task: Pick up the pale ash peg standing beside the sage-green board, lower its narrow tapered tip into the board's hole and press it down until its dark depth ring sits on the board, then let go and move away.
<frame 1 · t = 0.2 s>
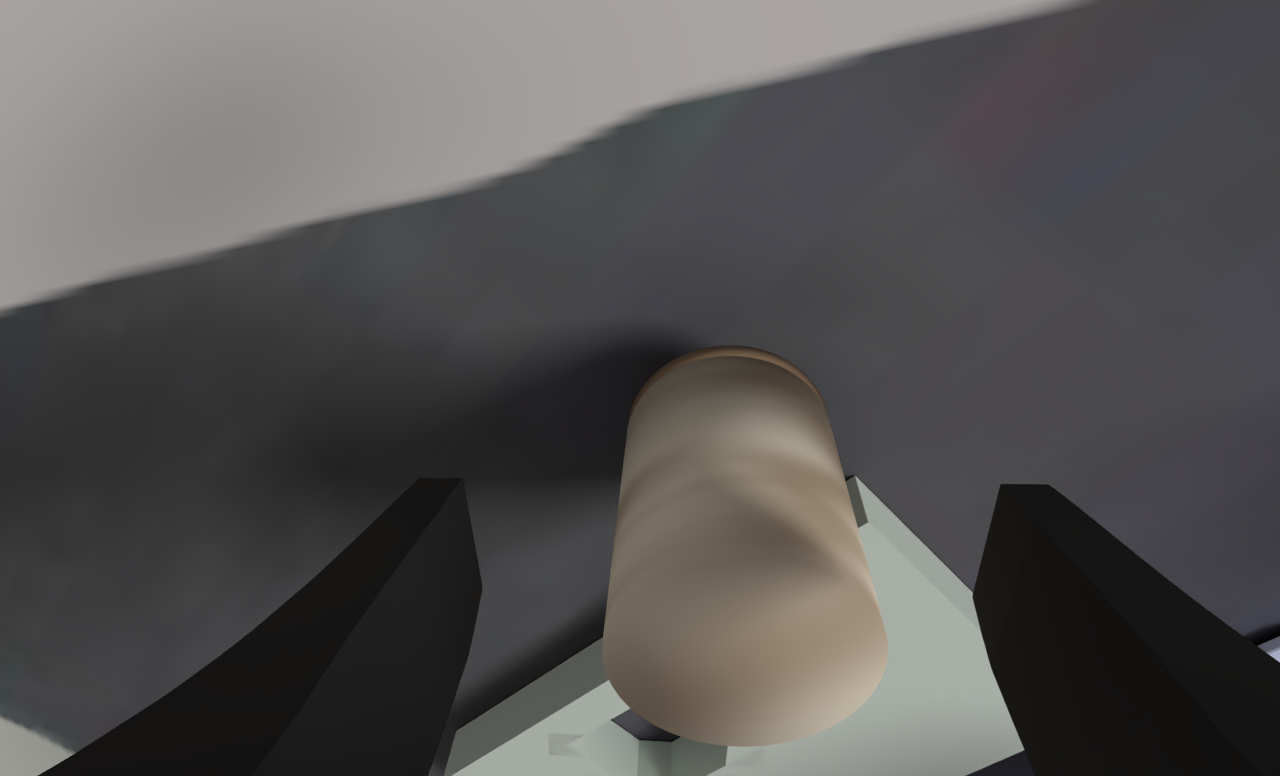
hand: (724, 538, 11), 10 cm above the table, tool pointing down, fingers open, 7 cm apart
board: (737, 703, 28), on the table
peg: (724, 395, 22), on the table
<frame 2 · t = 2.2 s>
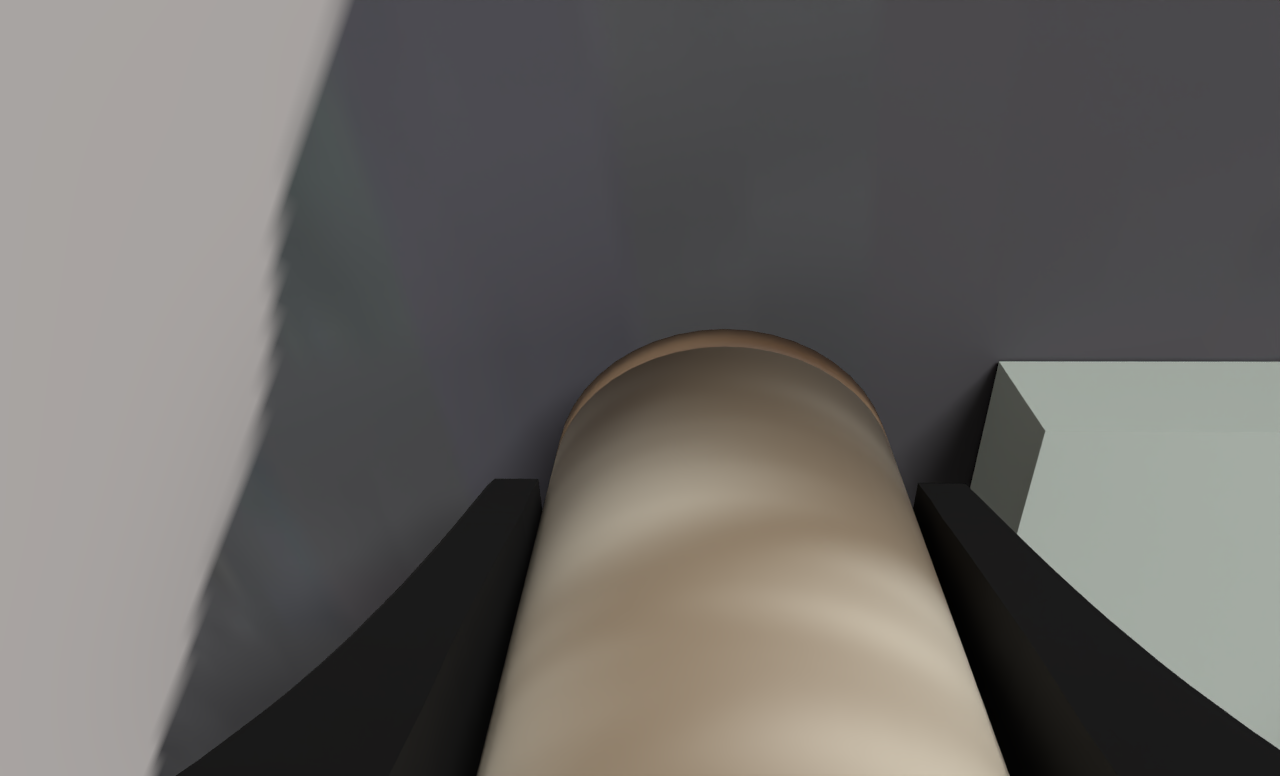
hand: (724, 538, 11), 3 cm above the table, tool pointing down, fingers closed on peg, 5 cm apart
board: (1178, 727, 17), on the table
peg: (717, 411, 14), on the table, touching gripper
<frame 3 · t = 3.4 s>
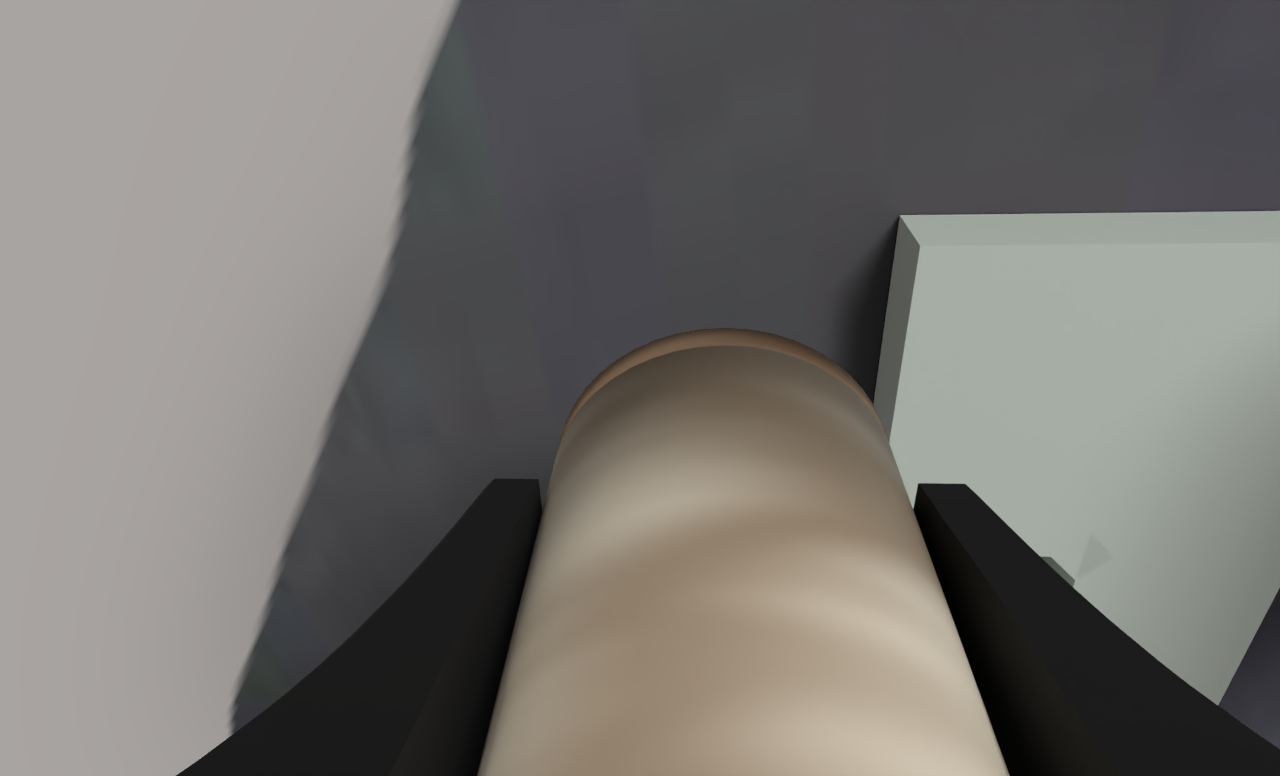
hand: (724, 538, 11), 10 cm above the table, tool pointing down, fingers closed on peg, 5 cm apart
board: (1050, 512, 23), on the table
peg: (717, 410, 14), point 7 cm above the table, touching gripper
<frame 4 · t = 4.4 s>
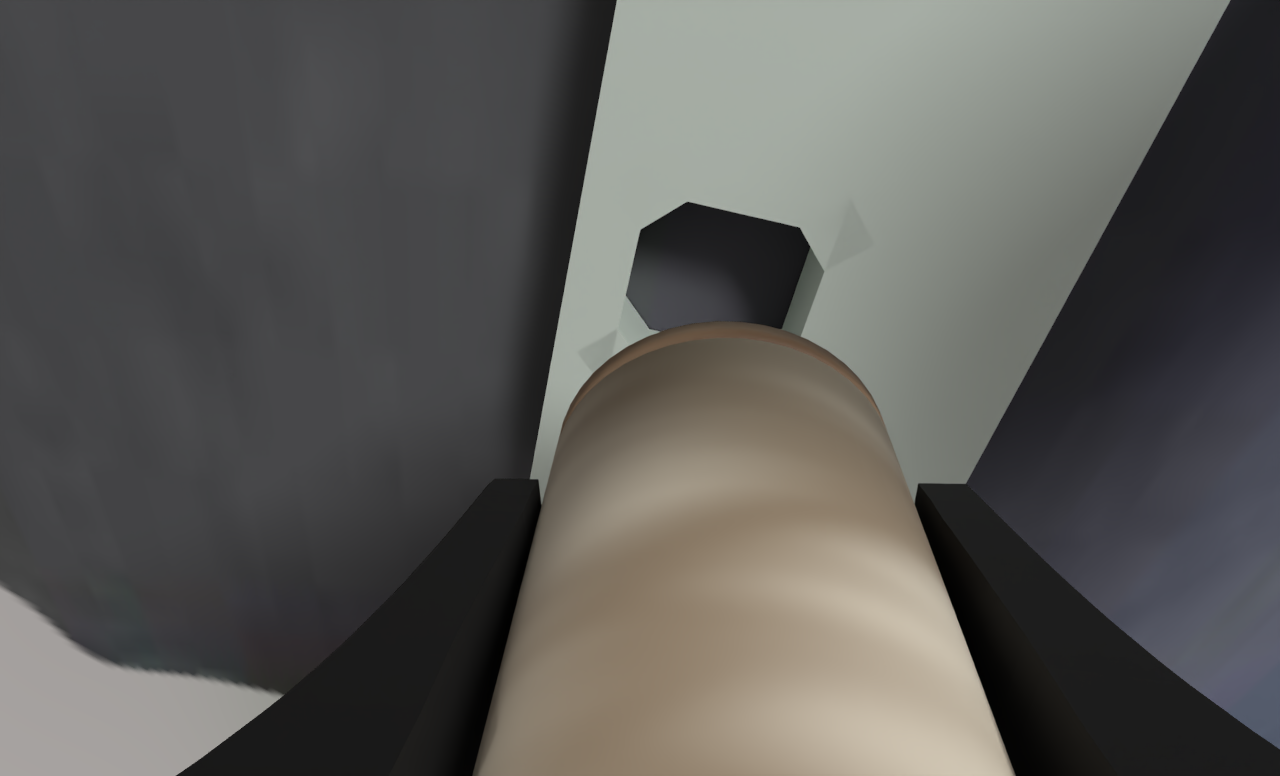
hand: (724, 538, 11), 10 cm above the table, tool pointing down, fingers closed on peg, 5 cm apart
board: (819, 209, 19), on the table
peg: (717, 406, 14), point 7 cm above the table, touching gripper
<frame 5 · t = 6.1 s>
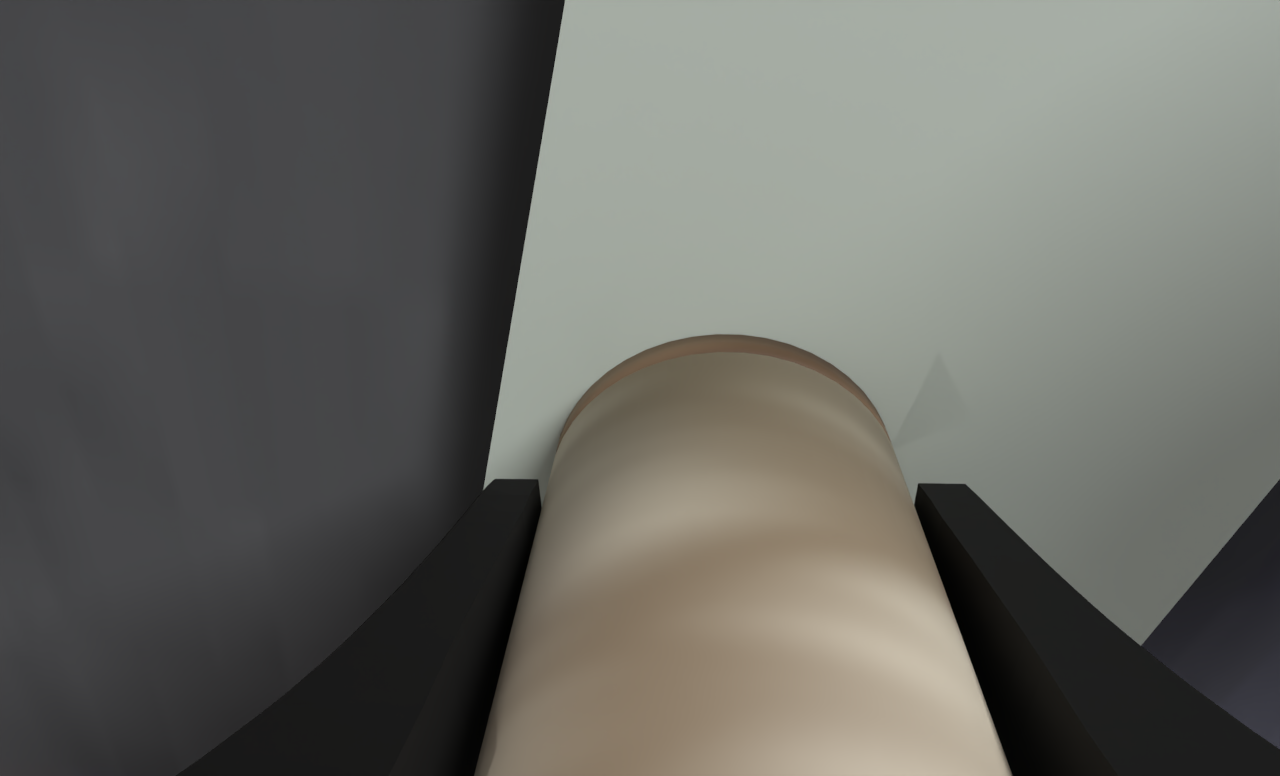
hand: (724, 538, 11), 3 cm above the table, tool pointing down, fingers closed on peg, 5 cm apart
board: (875, 340, 13), on the table
peg: (718, 417, 13), resting in board, touching gripper
when the fingers open (3 cm above the table, at t = 7.1 s): peg stays where it is, resting on board.
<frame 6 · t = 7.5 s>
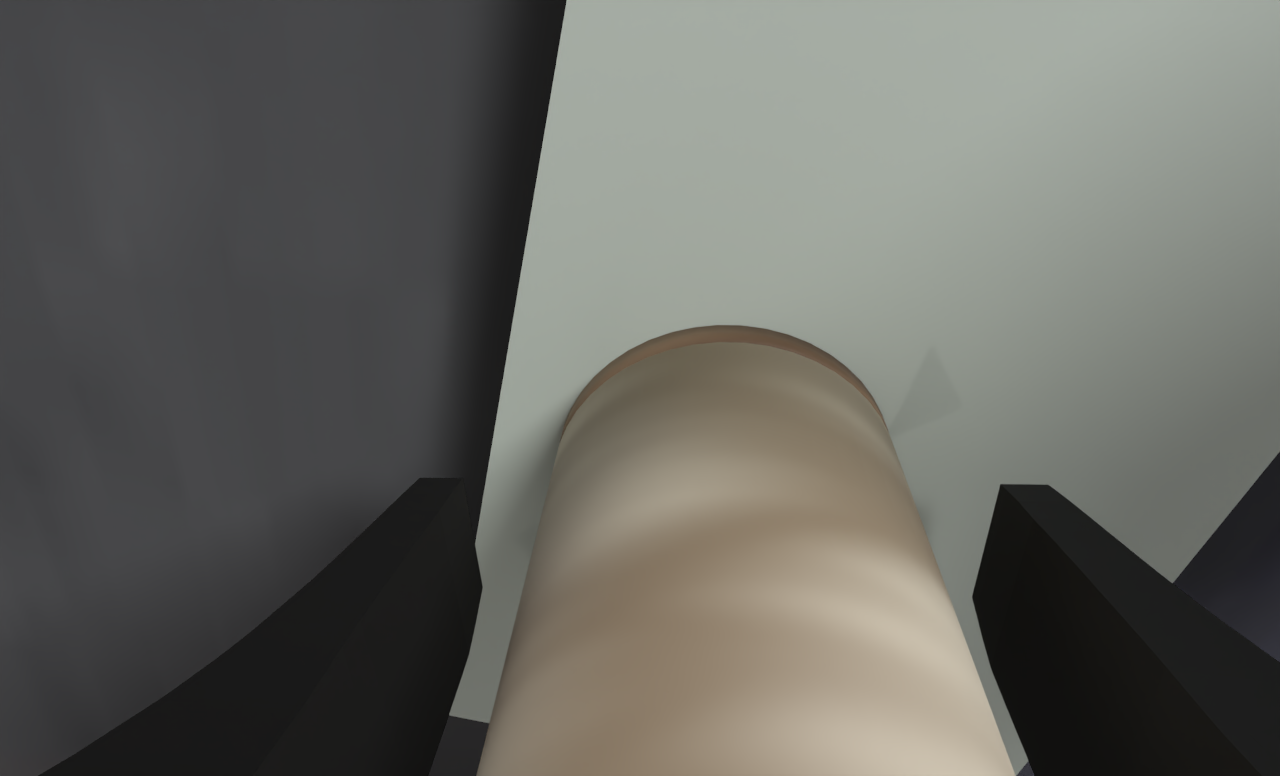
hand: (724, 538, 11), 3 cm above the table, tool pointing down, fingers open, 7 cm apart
board: (870, 333, 13), on the table
peg: (718, 408, 14), resting on board
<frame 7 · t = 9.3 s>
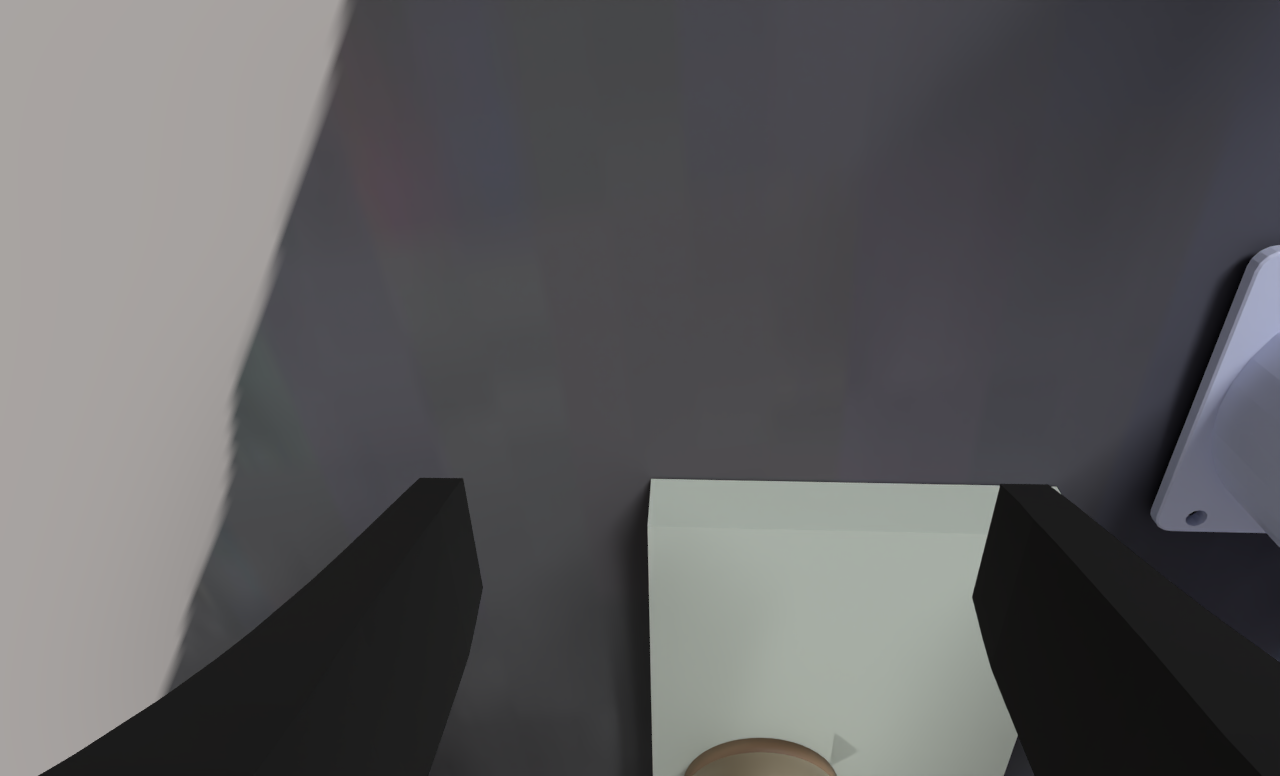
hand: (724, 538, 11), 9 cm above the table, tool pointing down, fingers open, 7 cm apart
board: (819, 697, 27), on the table
peg: (756, 737, 28), resting on board
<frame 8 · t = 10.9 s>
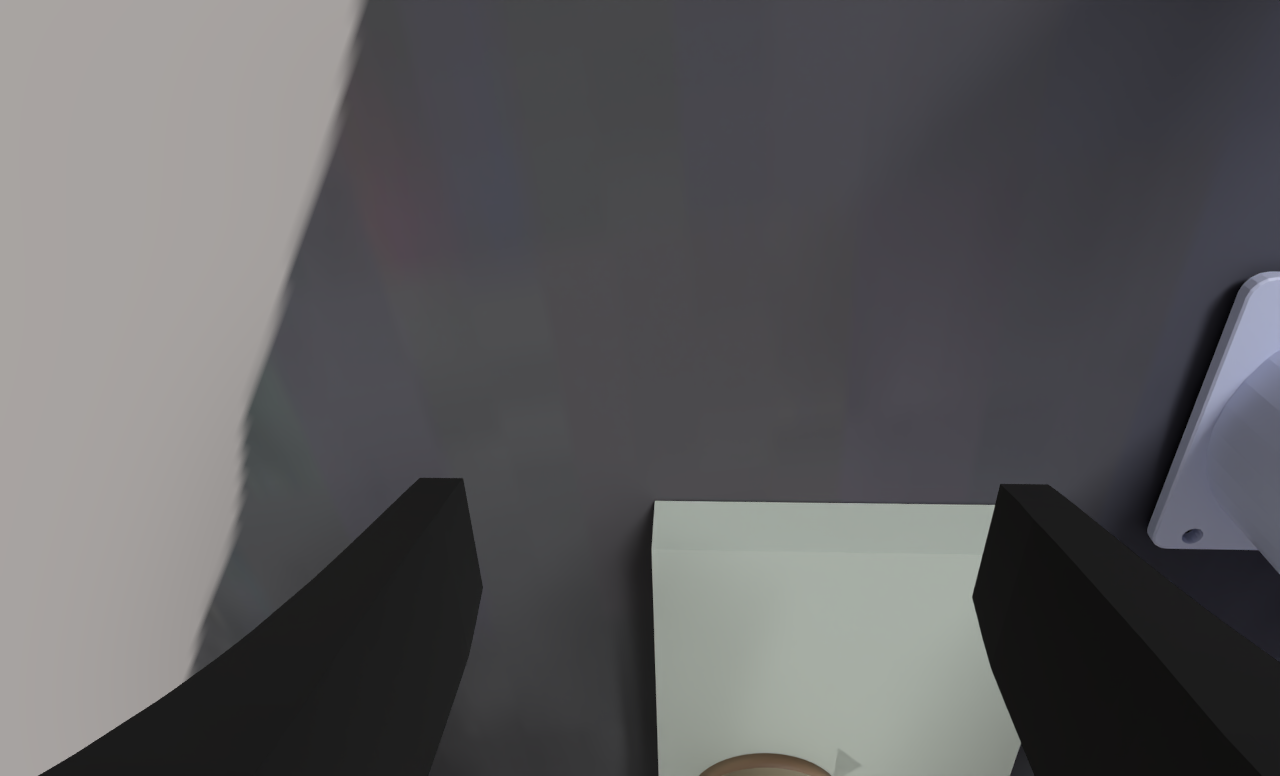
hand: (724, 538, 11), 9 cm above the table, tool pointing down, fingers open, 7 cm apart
board: (823, 712, 27), on the table
peg: (761, 750, 28), resting on board
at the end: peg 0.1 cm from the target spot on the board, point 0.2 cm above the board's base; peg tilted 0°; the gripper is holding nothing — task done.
